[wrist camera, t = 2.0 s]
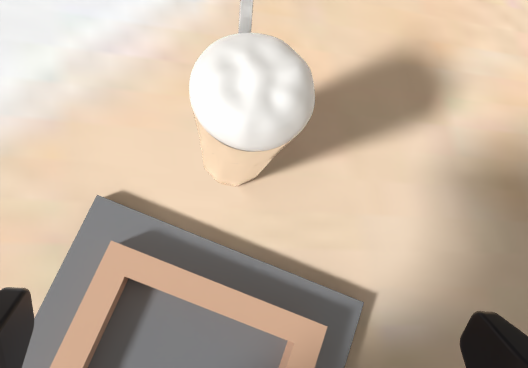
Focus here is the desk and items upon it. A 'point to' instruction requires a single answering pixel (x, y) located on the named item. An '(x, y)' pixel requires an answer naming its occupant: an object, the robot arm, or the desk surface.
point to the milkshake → (248, 101)
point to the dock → (181, 304)
